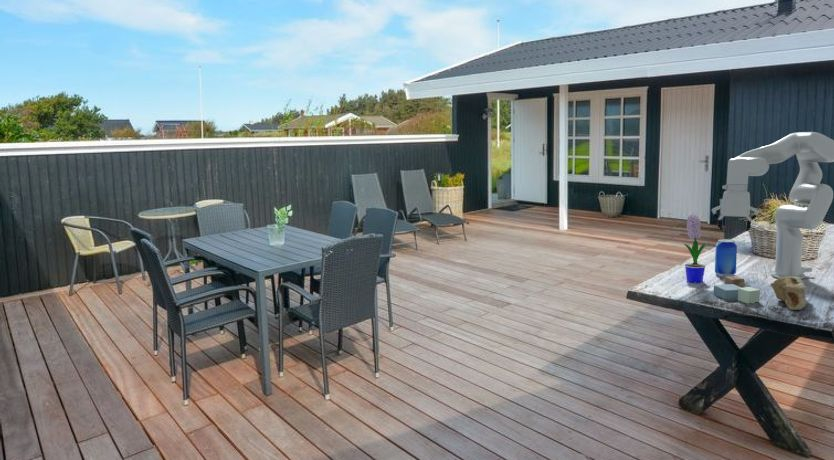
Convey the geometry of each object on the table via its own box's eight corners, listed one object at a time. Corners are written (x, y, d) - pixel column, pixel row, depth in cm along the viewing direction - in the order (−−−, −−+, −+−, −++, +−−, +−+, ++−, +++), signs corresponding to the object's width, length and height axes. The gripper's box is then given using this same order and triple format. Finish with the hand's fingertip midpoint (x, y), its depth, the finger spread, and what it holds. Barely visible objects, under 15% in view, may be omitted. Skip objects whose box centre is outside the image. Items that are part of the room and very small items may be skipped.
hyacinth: (712, 283, 242) (714, 214, 237) (686, 283, 244) (688, 215, 240) (706, 278, 251) (708, 212, 246) (681, 278, 253) (682, 212, 248)
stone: (824, 312, 200) (825, 284, 198) (787, 311, 202) (788, 284, 201) (801, 298, 216) (803, 272, 215) (768, 298, 219) (769, 272, 217)
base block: (732, 293, 228) (733, 284, 227) (745, 299, 220) (745, 289, 219) (713, 294, 228) (713, 285, 227) (725, 300, 220) (725, 290, 219)
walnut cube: (736, 287, 235) (736, 276, 234) (743, 290, 230) (743, 278, 229) (724, 288, 235) (724, 276, 234) (731, 291, 230) (731, 279, 229)
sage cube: (748, 299, 219) (748, 286, 218) (759, 302, 214) (759, 289, 213) (737, 300, 218) (738, 288, 217) (748, 304, 213) (749, 291, 212)
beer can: (733, 273, 258) (735, 238, 255) (737, 277, 250) (739, 242, 248) (713, 272, 261) (714, 238, 258) (716, 277, 253) (717, 241, 250)
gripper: (713, 188, 231) (710, 230, 233) (762, 189, 223) (759, 232, 226) (712, 187, 237) (709, 227, 240) (760, 188, 230) (757, 229, 233)
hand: (733, 229), depth 233 cm, fingers open, 9 cm apart
